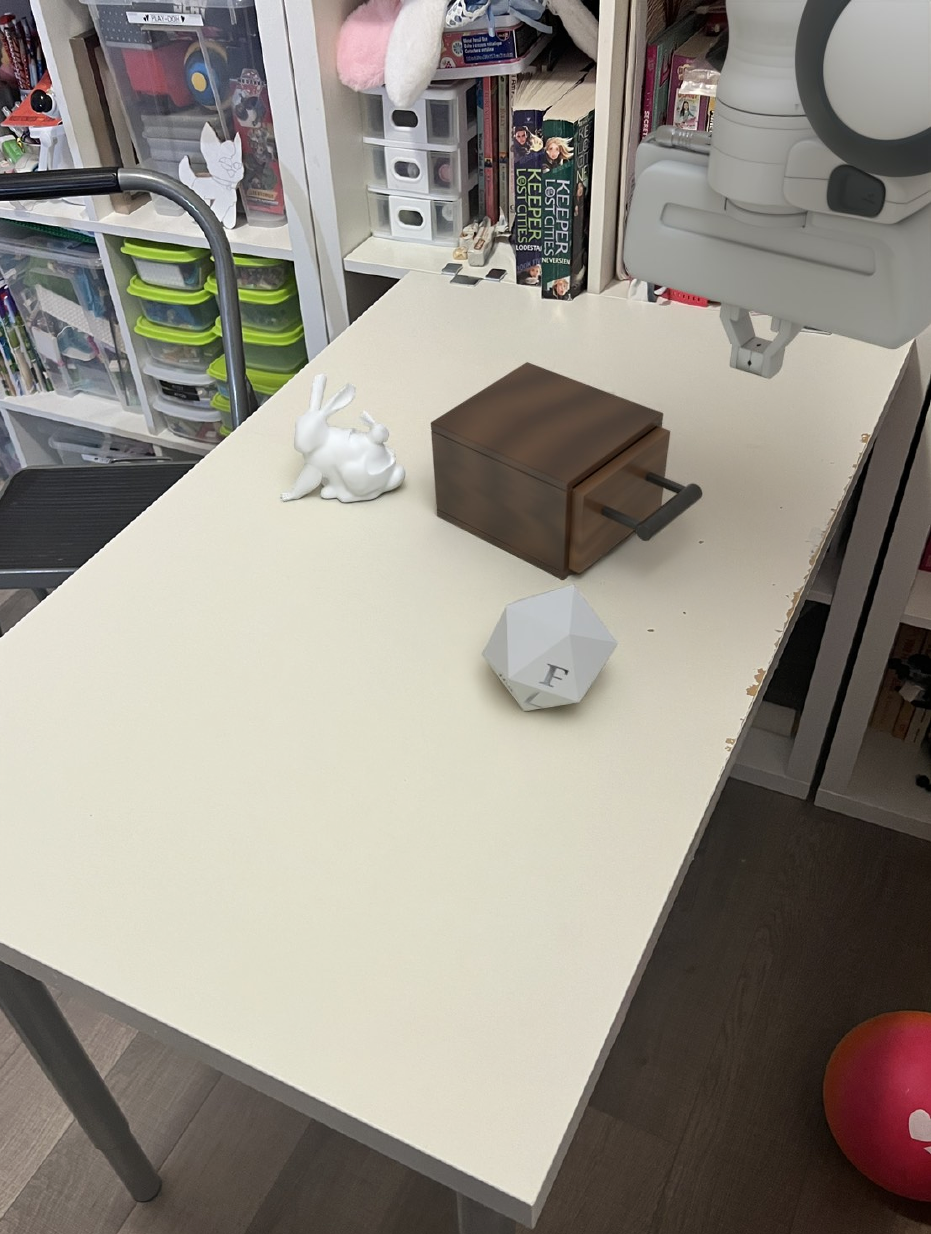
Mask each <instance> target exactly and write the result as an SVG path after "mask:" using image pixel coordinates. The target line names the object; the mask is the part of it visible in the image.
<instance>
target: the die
mask: <svg viewBox="0 0 931 1234" xmlns="http://www.w3.org/2000/svg"><path fill="white" fill-rule="evenodd" d="M618 645H619V641H617V639H616V638H615V637H614V635H613V634H612V633H611V631H610V630H609V628H608V627H607V626H606V624H604V622H603V621H602V620H601V618H600V617H599V615H598V614H597V613H596V611H595V610H594V608H593V607H592V606H591V604H589V602H588V600H587V599H586V598H585V596H584V595H583V593H581V591H580V590H579V589H578V587H577V586H576V584H570V585H567V586H562V587H559V588H556V589H553V590H549V591H545V592H542V593H538V594H534V595H531V596H527V597H524V598H520V599H518V600H515V601H513V602H511V603H508V604H506V605H505V607H504V609H503V611H502V613H501V615H500V618H499V619H498V621H497V622H496V624H495V627H494V629H493V630H492V633H491V635H490V637H489V639H488V641H487V643H486V645H485V647H484V649H483V651H482V653H481V656H482V657H483V658H484V660H485V661H486V662H487V664H488V665H489V666H490V668H491V669H492V671H493V672H494V673H495V674H496V676H497V677H498V678H499V680H500V682H502V684H503V686H504V687H505V688H506V689H507V690H508V692H509V693H510V695H511V696H512V698H514V700H515V701H516V702H517V704H518V705H519V706H520V708H521V709H522V710H523V711H524V712H528V711H534V710H539V709H545V708H552V707H559V706H565V705H571V704H577V703H580V702H581V701H582V699H583V698H584V697H585V695H586V694H587V693H588V691H589V690H590V689H591V687H592V685H593V684H594V682H595V681H596V679H597V678H598V677H599V674H600V673H601V672H602V670H603V669H604V667H605V665H606V663H607V662H608V661H609V659H610V657H611V656H612V654H613V653H614V651H615V650H616V648H617V647H618Z"/></svg>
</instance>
